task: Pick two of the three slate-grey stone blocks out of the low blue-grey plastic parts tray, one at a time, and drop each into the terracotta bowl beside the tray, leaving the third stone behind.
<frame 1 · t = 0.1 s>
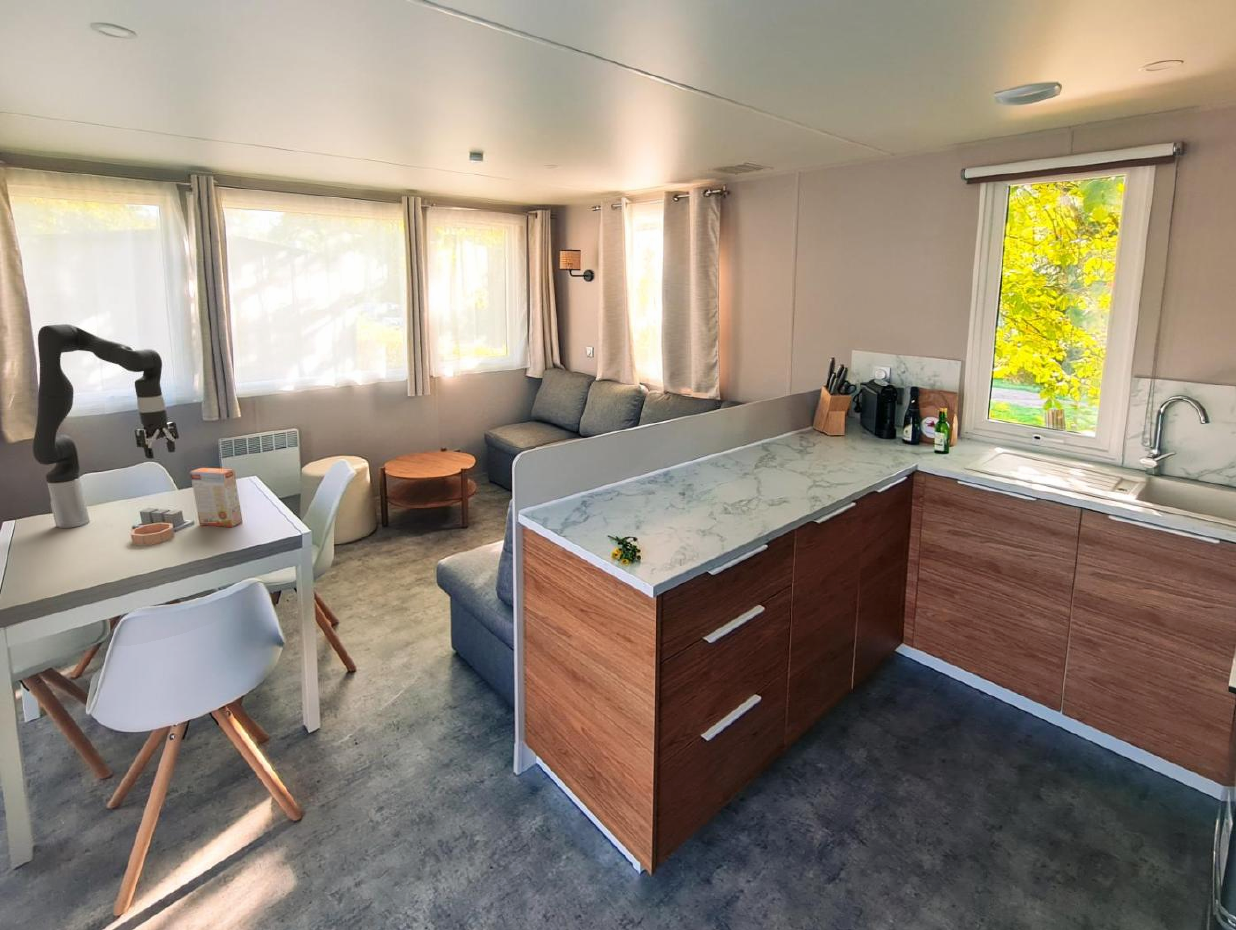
hand: (161, 455, 226), 29 cm above the table, fingers open, 8 cm apart
bowl: (153, 538, 230), on the table
pebble b: (163, 525, 241), resting on tray
pebble c: (175, 526, 240), resting on tray
tray: (163, 525, 241), on the table
pebble a: (151, 524, 242), resting on tray
cracker box: (221, 524, 244), on the table
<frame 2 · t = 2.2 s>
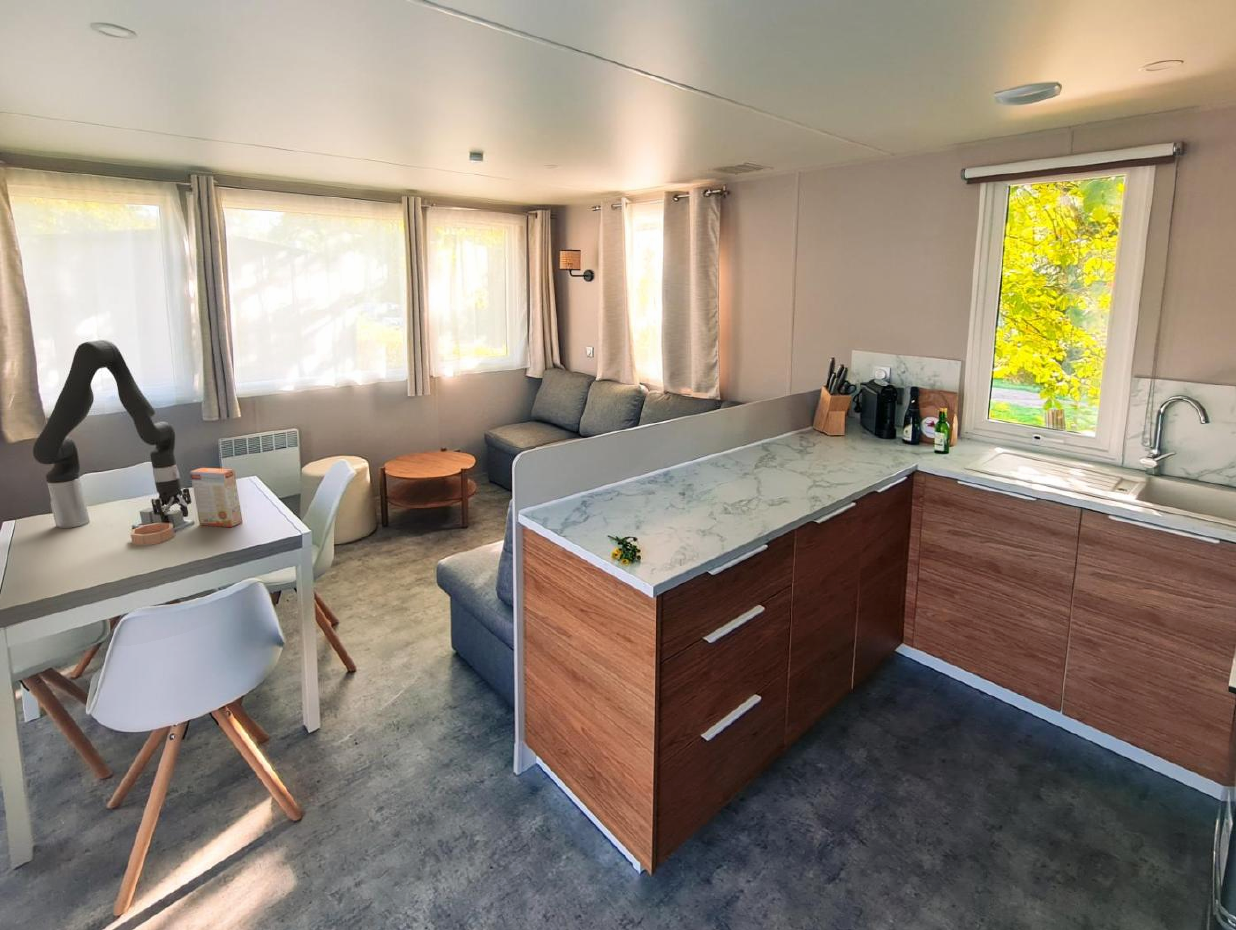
hand: (175, 520, 240), 2 cm above the table, fingers open, 7 cm apart
nothing on the table moved.
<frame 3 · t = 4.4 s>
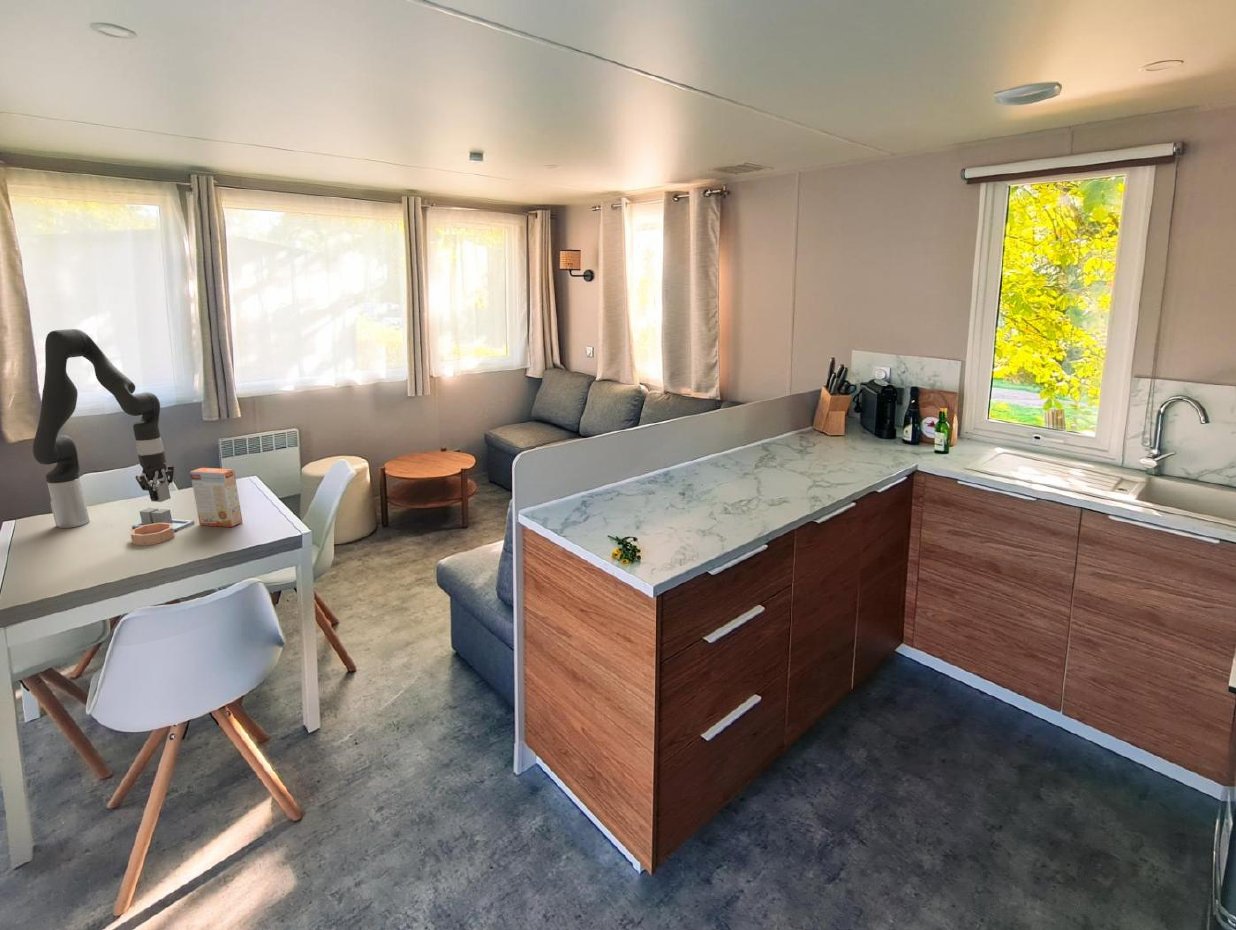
hand: (160, 498, 229), 14 cm above the table, fingers closed on pebble c, 4 cm apart
pebble c: (161, 499, 230), point 13 cm above the table, touching gripper
everything else where it was.
when the fingers open (5 cm above the table, at t = 6.3 s): pebble c drops 4 cm, resting on bowl.
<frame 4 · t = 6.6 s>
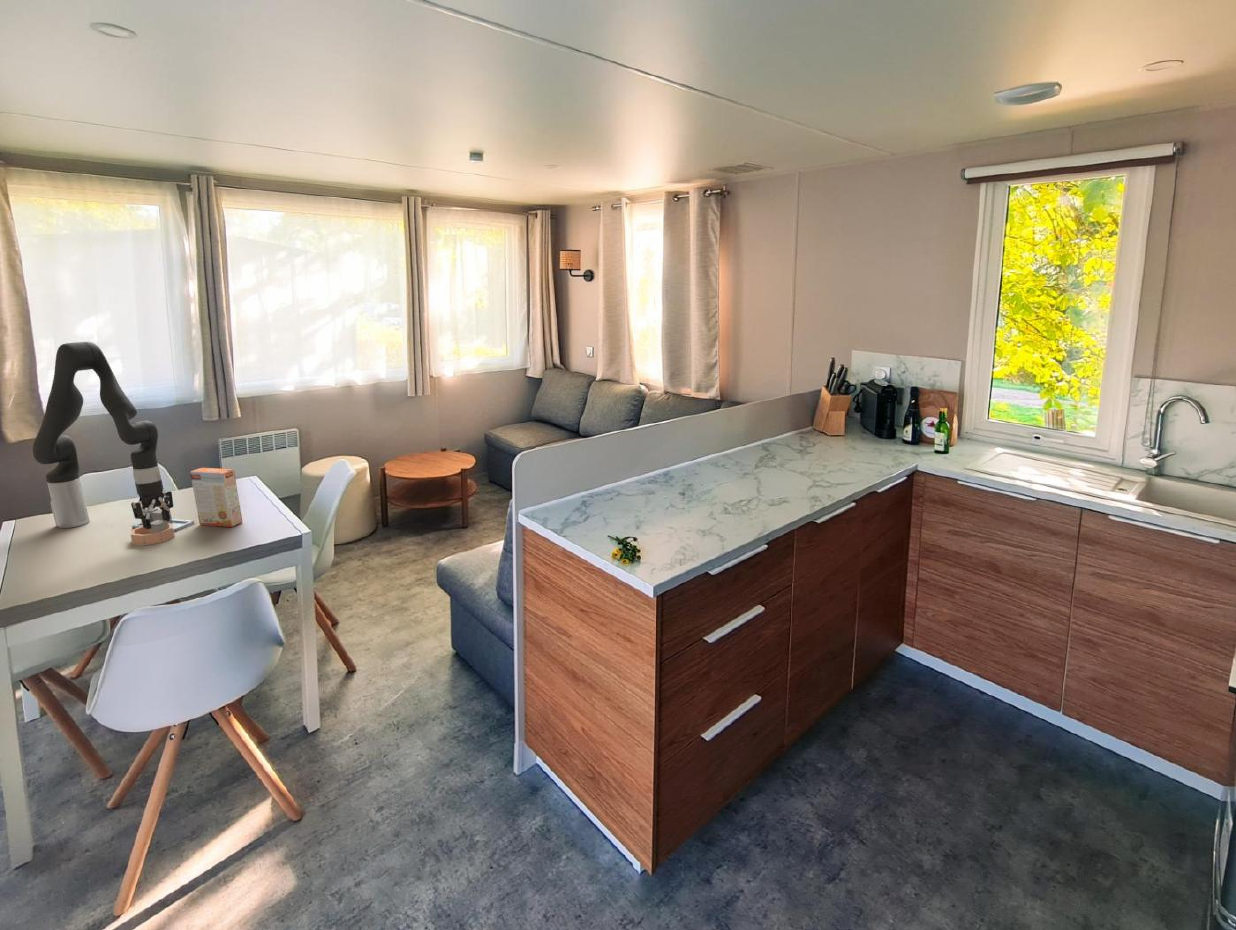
hand: (157, 524, 228), 5 cm above the table, fingers open, 6 cm apart
pebble c: (160, 537, 229), point 1 cm above the table, touching bowl
everything else where it was.
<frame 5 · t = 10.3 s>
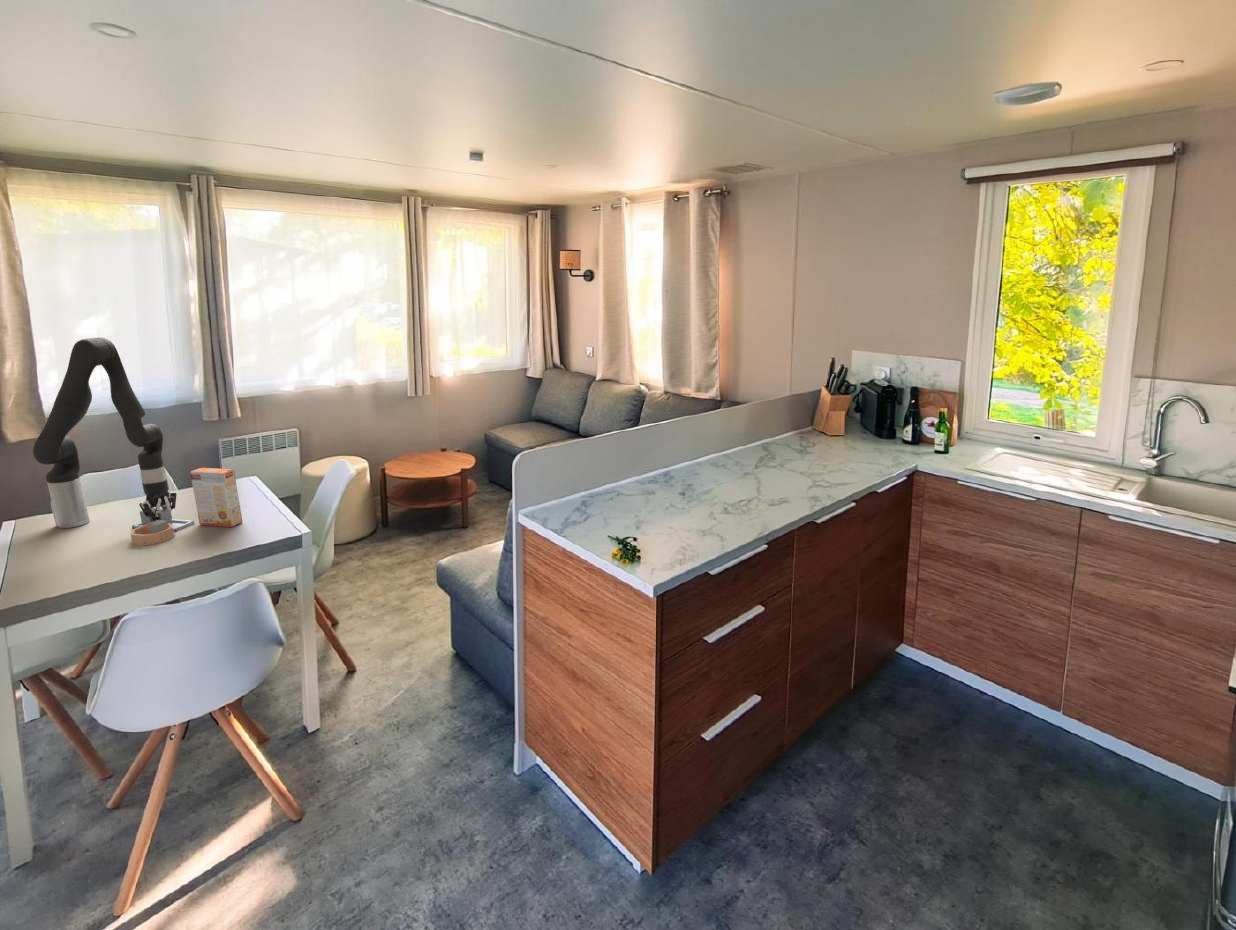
hand: (163, 523, 241), 1 cm above the table, fingers closed on pebble b, 4 cm apart
pebble b: (163, 525, 241), resting on tray, touching gripper
everything else where it was.
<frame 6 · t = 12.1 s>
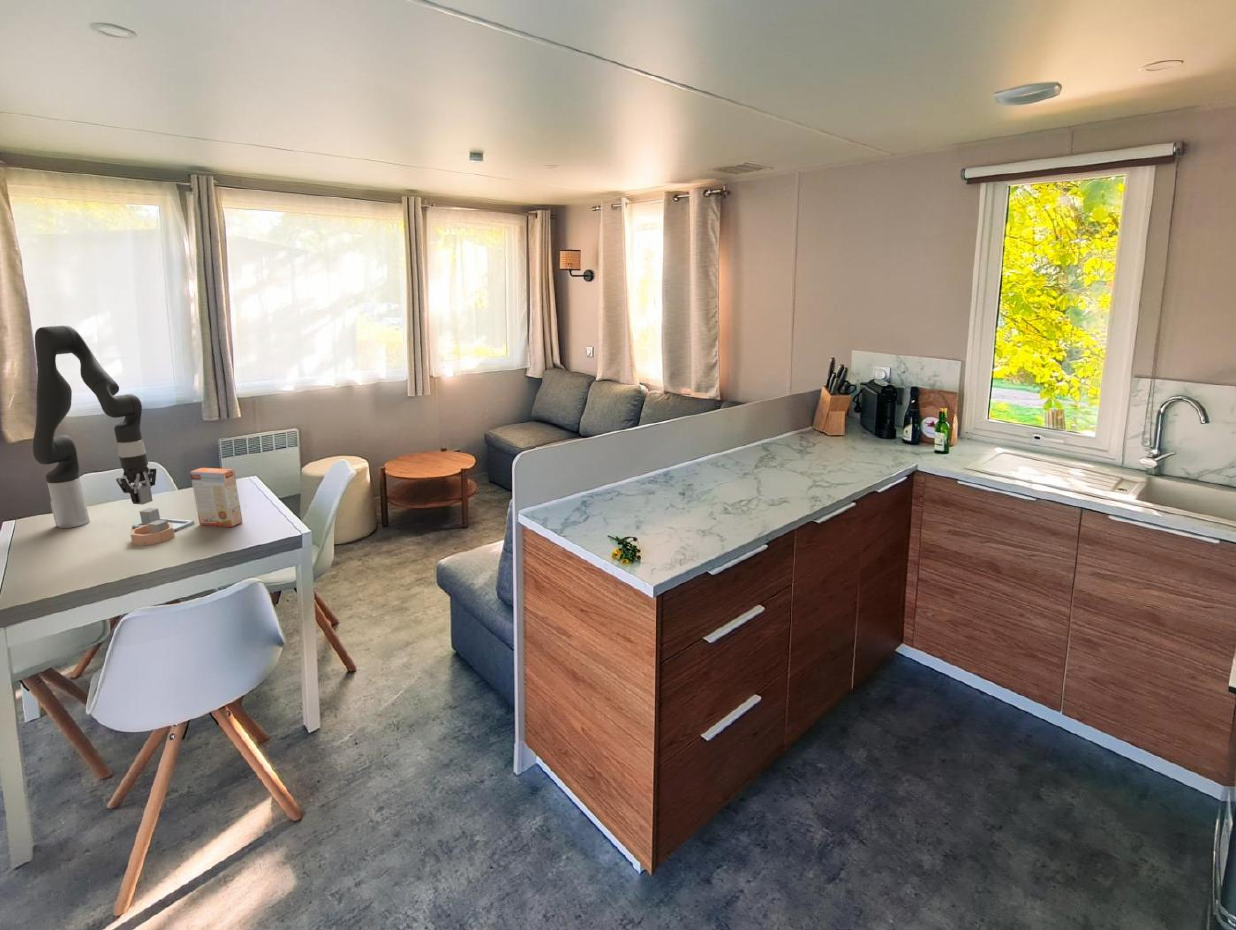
hand: (142, 500, 227), 13 cm above the table, fingers closed on pebble b, 4 cm apart
pebble b: (142, 502, 227), point 13 cm above the table, touching gripper
everything else where it was.
when the fingers open (5 cm above the table, at t = 13.8 s): pebble b drops 4 cm, resting on bowl.
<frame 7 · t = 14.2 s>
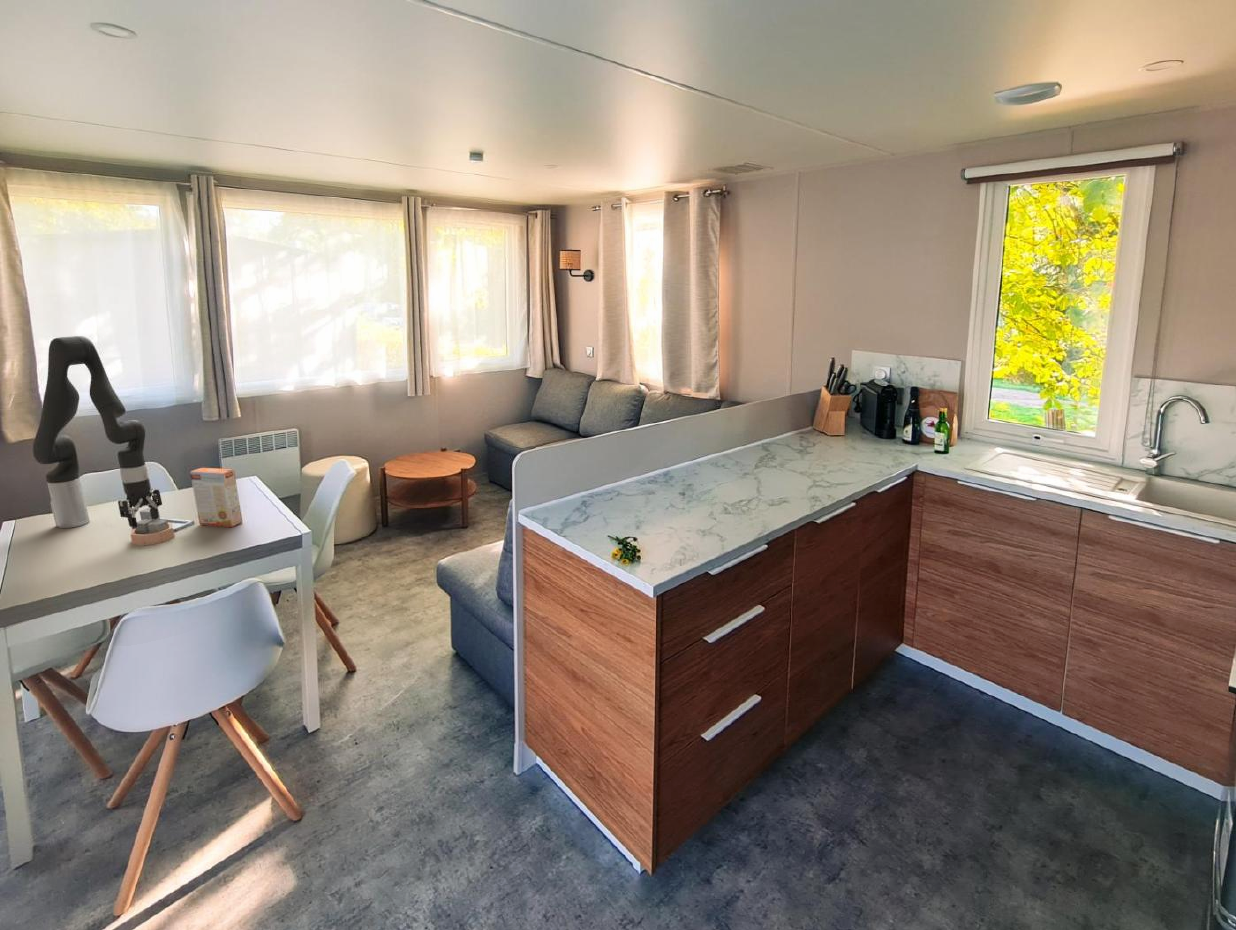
hand: (144, 523, 229), 6 cm above the table, fingers open, 8 cm apart
pebble b: (147, 536, 230), point 1 cm above the table, touching bowl
everything else where it was.
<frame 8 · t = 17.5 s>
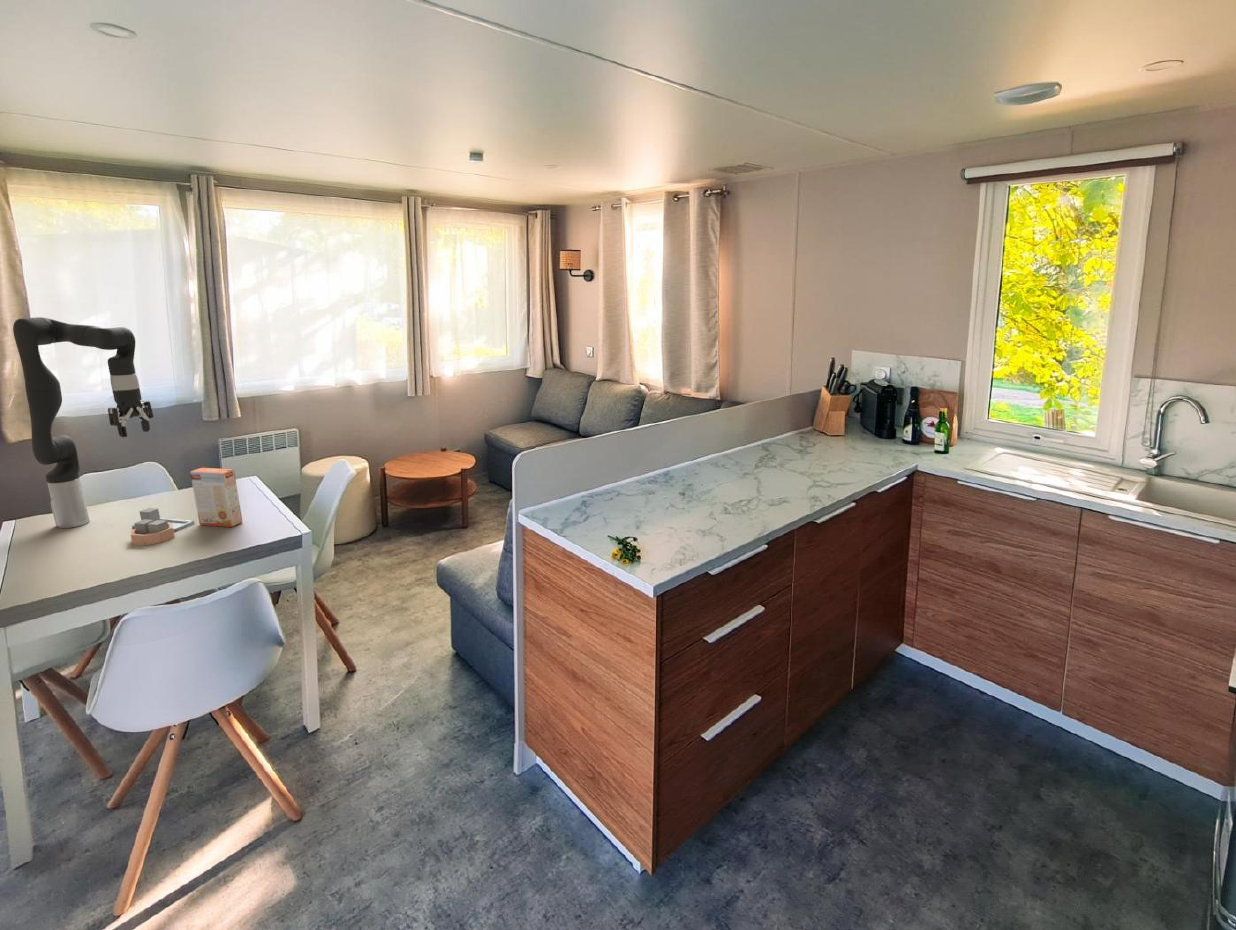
hand: (135, 434, 226), 36 cm above the table, fingers open, 8 cm apart
nothing on the table moved.
at the end: pebble c inside the target area on the bowl (2.6 cm from its centre), point 0.6 cm above the bowl's base; pebble b inside the target area on the bowl (2.6 cm from its centre), point 0.6 cm above the bowl's base; pebble a moved 0.0 cm from its start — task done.
